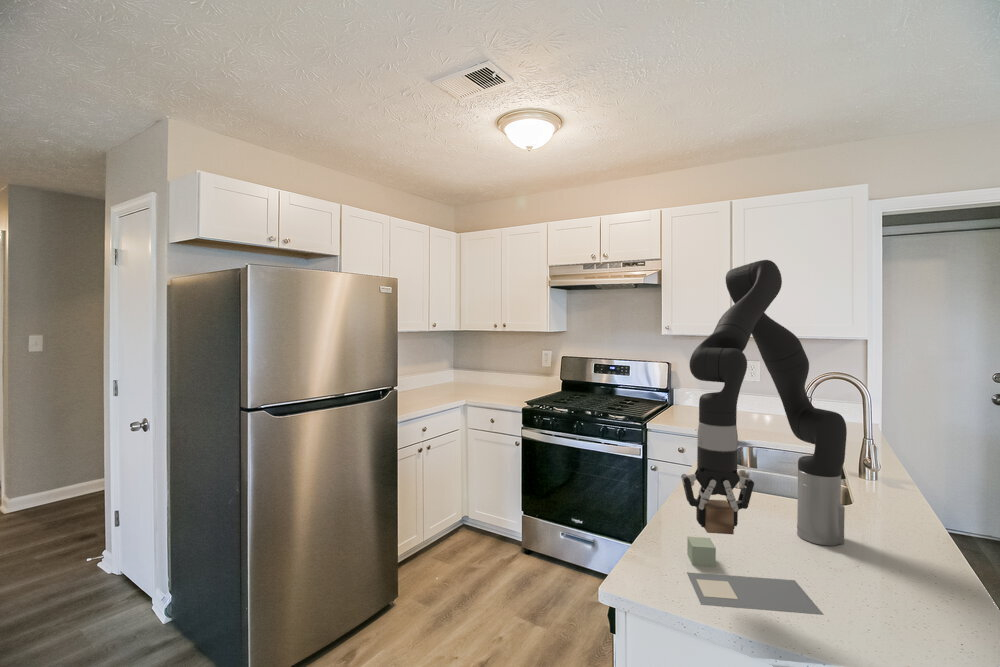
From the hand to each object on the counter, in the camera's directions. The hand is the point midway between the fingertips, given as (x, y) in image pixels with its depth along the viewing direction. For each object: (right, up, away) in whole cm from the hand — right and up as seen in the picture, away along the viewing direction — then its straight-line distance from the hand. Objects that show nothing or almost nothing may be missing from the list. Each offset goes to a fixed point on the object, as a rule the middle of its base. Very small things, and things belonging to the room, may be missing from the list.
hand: (716, 526), depth 98 cm
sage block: (+2, -14, +12) cm, 18 cm away
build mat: (+6, -14, -1) cm, 15 cm away
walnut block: (0, 0, 0) cm, 0 cm away
